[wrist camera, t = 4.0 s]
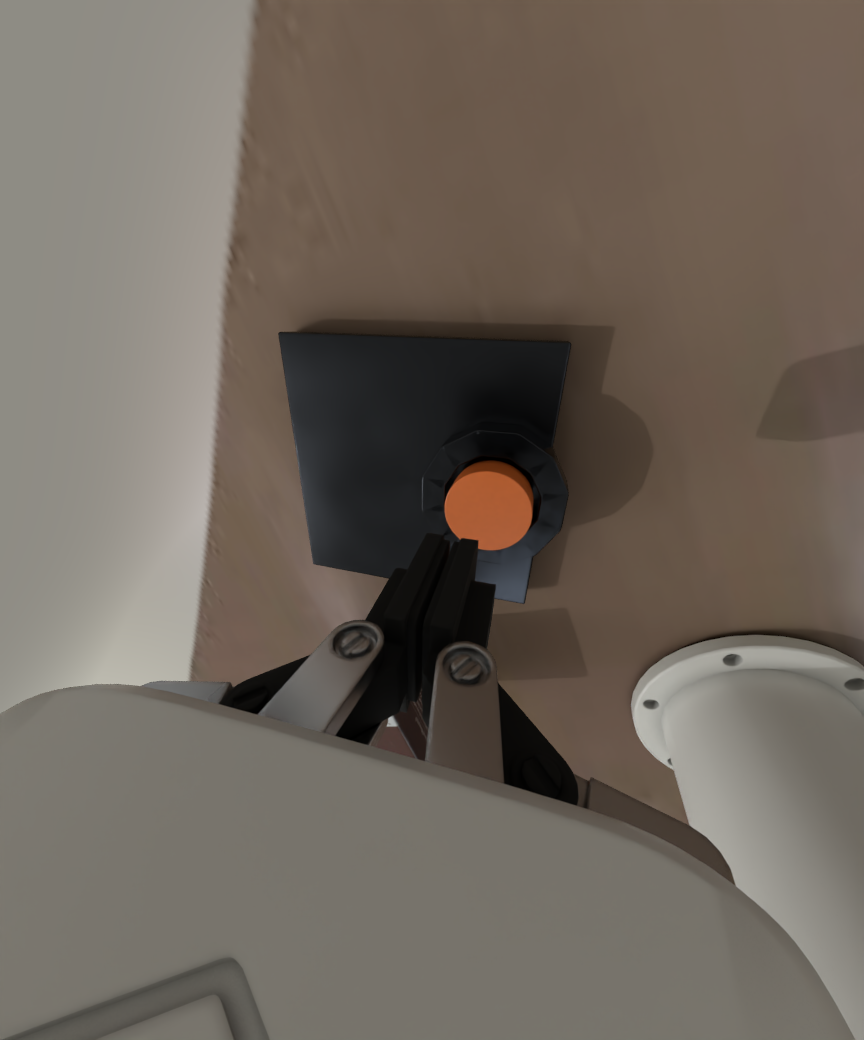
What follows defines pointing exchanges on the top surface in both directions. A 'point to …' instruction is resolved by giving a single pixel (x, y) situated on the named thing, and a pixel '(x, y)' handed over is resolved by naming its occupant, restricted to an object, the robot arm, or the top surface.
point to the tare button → (490, 505)
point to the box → (406, 732)
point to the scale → (420, 442)
